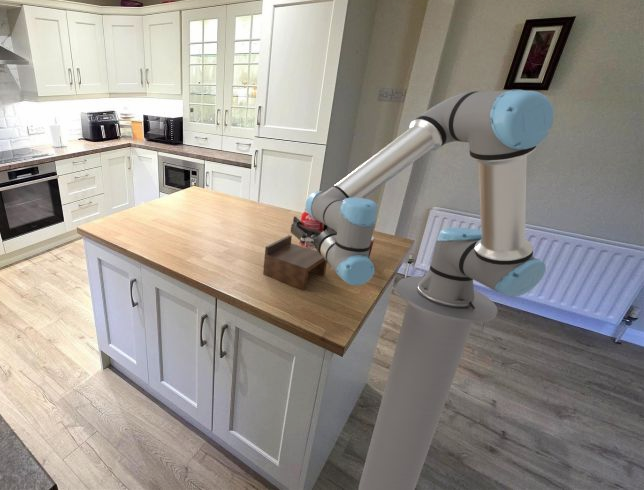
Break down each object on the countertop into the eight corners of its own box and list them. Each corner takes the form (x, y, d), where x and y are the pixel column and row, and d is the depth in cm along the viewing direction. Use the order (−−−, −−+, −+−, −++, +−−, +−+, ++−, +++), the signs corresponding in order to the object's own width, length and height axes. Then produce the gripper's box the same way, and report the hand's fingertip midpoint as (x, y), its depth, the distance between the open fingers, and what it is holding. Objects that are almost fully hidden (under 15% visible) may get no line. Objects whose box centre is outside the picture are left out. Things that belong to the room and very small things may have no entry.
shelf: (325, 274, 126) (329, 246, 122) (303, 290, 116) (307, 260, 112) (286, 261, 137) (289, 235, 133) (263, 274, 126) (265, 246, 122)
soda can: (309, 239, 117) (315, 205, 112) (324, 248, 111) (331, 213, 106) (292, 242, 114) (297, 208, 109) (306, 252, 108) (312, 216, 103)
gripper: (294, 260, 95) (274, 231, 116) (367, 260, 95) (334, 231, 116) (298, 234, 92) (277, 209, 113) (372, 234, 92) (337, 209, 114)
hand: (306, 220), depth 115 cm, fingers closed on soda can, 7 cm apart
